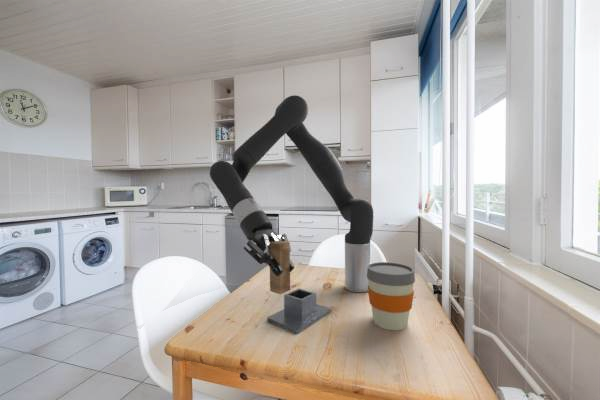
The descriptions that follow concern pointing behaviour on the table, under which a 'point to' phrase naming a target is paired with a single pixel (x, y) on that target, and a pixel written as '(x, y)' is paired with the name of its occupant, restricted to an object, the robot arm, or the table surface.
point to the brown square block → (283, 258)
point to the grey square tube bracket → (299, 311)
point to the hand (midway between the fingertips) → (286, 271)
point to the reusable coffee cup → (390, 294)
